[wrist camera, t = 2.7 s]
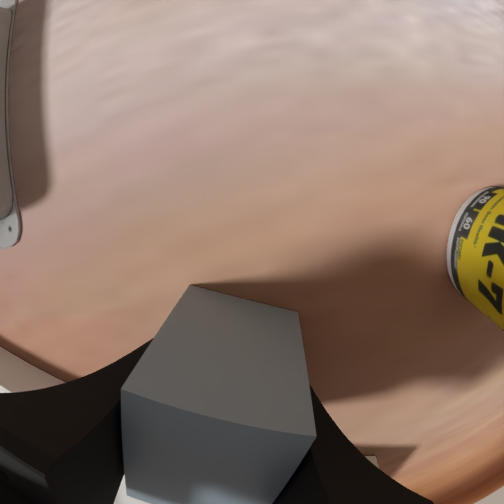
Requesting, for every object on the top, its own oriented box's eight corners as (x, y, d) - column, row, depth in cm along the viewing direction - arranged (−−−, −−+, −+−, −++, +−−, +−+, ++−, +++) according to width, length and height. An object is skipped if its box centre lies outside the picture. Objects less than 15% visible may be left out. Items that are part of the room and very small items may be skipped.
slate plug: (262, 409, 13) (254, 526, 7) (172, 386, 12) (126, 495, 7) (297, 311, 11) (316, 436, 5) (190, 284, 11) (120, 389, 5)
